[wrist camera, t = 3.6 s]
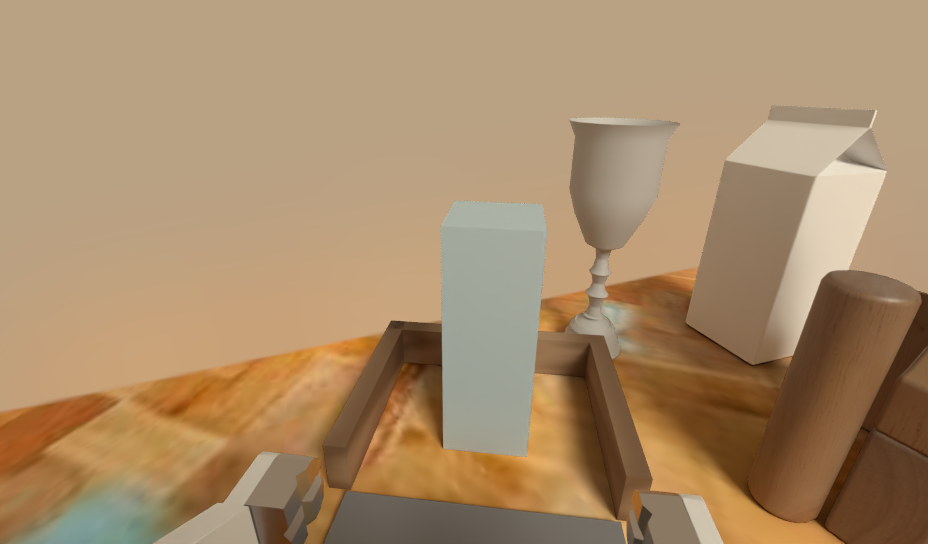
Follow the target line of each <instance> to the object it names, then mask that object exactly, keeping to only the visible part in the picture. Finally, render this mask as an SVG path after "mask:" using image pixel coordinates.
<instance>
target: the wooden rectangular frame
mask: <svg viewBox="0 0 928 544" xmlns="http://www.w3.org/2000/svg"><path fill="white" fill-rule="evenodd" d="M404 362H407V363H419V364H431V365H442V324H433V323H418V322H404V321H391V322H390V324H389V326H388V327H387V329H386V331H385V333H384V335H383V336H382V338H381V340H380V342H379V344H378V346H377V347H376V349H375V351H374V353H373V355H372V356H371V358H370V360H369V362H368V364H367V366H366V367H365V369H364V371H363V373H362V375H361V376H360V378H359V380H358V382H357V384H356V386H355V387H354V389H353V391H352V393H351V395H350V397H349V398H348V400H347V402H346V404H345V406H344V407H343V409H342V411H341V413H340V415H339V417H338V418H337V420H336V422H335V424H334V426H333V427H332V429H331V431H330V433H329V435H328V437H327V438H326V440H325V442H324V444H323V451H324V457H325V464H326V470H327V476H328V483H329V487H332V488H340V489H349V490H351V487H352V485H353V483H354V480H355V478H356V475H357V473H358V471H359V468H360V466H361V464H362V461H363V459H364V456H365V454H366V452H367V449H368V447H369V444H370V442H371V440H372V437H373V435H374V433H375V430H376V428H377V425H378V423H379V421H380V418H381V416H382V414H383V411H384V409H385V406H386V404H387V402H388V399H389V397H390V394H391V392H392V390H393V387H394V385H395V383H396V380H397V378H398V375H399V373H400V371H401V368H402V366H403V363H404ZM534 373H544V374H556V375H569V376H581V377H585V379H586V383H587V388H588V392H589V397H590V401H591V406H592V410H593V415H594V419H595V423H596V428H597V432H598V437H599V441H600V446H601V450H602V455H603V459H604V464H605V468H606V472H607V477H608V481H609V486H610V490H611V495H612V499H613V504H614V508H615V513H616V517H617V520H623V521H627V518H628V513H629V512H630V511H632V510H633V505H632V501H631V499H632V495H633V492H634V491H635V489H637V490H648V491H650V488H651V484H652V480H653V479H652V476H651V473H650V470H649V467H648V464H647V461H646V458H645V455H644V452H643V449H642V446H641V443H640V441H639V438H638V435H637V432H636V429H635V426H634V423H633V420H632V417H631V414H630V411H629V408H628V405H627V402H626V399H625V396H624V393H623V390H622V387H621V384H620V381H619V378H618V375H617V372H616V370H615V367H614V364H613V361H612V358H611V355H610V352H609V349H608V346H607V343H606V340H605V337H604V336H603V335H589V334H575V333H561V332H547V331H538V338H537V349H536V360H535V371H534Z"/></svg>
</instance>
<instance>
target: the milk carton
mask: <svg viewBox="0 0 928 544" xmlns="http://www.w3.org/2000/svg"><path fill="white" fill-rule="evenodd" d="M876 113H877V110H862V109H841V108H819V107H797V106H776V105H772V106H771V110H770V113H769V117H768V120H767V121H766V122H765V123H764V124H763V125H762V126H760V127H759V128H758V129H757V130H756V131H755V132H754V133H753V134H752V135H751V136H750V137H749V138H748V139H746V140H745V141H744V142H743V143H742V144H741V145H740V146H739V147H738V148H737V149H736V150H735V151H734V152H732V154H730V155H729V156H728V157H727V158H726V159H725V163H724V167H723V171H722V175H721V179H720V183H719V187H718V191H717V196H716V199H715V204H714V208H713V212H712V216H711V220H710V224H709V228H708V232H707V236H706V240H705V244H704V248H703V252H702V256H701V260H700V264H699V268H698V272H697V276H696V280H695V284H694V288H693V292H692V297H691V301H690V305H689V309H688V313H687V317H686V323H687V324H688V325H690V326H691V327H693V328H694V329H696V330H697V331H699V332H701V333H702V334H704V335H705V336H707V337H708V338H710V339H712V340H713V341H715V342H716V343H718V344H719V345H721V346H723V347H724V348H726V349H727V350H729V351H731V352H732V353H734V354H735V355H737V356H738V357H740V358H742V359H743V360H745V361H746V362H748V363H750V364H752V365H755V364H759V363H764V362H768V361H772V360H777V359H781V358H785V357H789V356H793V354H794V351H795V349H796V346H797V343H798V341H799V338H800V335H801V333H802V330H803V327H804V325H805V322H806V319H807V316H808V314H809V311H810V308H811V306H812V303H813V300H814V298H815V295H816V292H817V290H818V287H819V284H820V282H821V279H822V278H823V277H824V276H825V275H826V274H828V273H829V272H830V271H836V270H848V269H849V266H850V264H851V261H852V259H853V256H854V254H855V251H856V249H857V246H858V244H859V241H860V238H861V236H862V234H863V231H864V228H865V226H866V223H867V221H868V218H869V216H870V214H871V211H872V208H873V206H874V203H875V201H876V198H877V196H878V193H879V191H880V188H881V186H882V183H883V181H884V178H885V175H886V172H887V168H886V165H885V163H884V160H883V157H882V155H881V152H880V149H879V147H878V144H877V142H876V139H875V136H874V134H873V131H872V129H871V127H872V124H873V121H874V119H875V116H876Z"/></svg>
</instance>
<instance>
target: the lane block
mask: <svg viewBox="0 0 928 544" xmlns="http://www.w3.org/2000/svg"><path fill="white" fill-rule="evenodd" d="M546 238H547V228H546V222H545V217H544V212H543V207H542V204H521V203H495V202H471V201H455V202H454V204H453V205H452V207H451V209H450V211H449V213H448V214H447V216H446V218H445V220H444V221H443V224H442V225H441V292H442V294H441V295H442V385H443V449H451V450H461V451H471V452H481V453H491V454H501V455H511V456H521V457H527V448H528V437H529V426H530V415H531V404H532V393H533V382H534V371H535V360H536V349H537V338H538V327H539V316H540V305H541V293H542V283H543V271H544V261H545V250H546Z"/></svg>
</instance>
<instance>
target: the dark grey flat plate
mask: <svg viewBox="0 0 928 544" xmlns="http://www.w3.org/2000/svg"><path fill="white" fill-rule="evenodd" d="M324 544H626V543H625V538H624V534H623V530H622V525H621V522H615V521H606V520H598V519H589V518H580V517H571V516H562V515H554V514H545V513H536V512H527V511H518V510H510V509H501V508H492V507H483V506H474V505H466V504H457V503H448V502H439V501H430V500H422V499H413V498H404V497H395V496H386V495H378V494H369V493H360V492H351V491H346V493H345V495H344V497H343V500H342V502H341V504H340V507H339V509H338V511H337V514H336V516H335V518H334V521H333V523H332V525H331V528H330V530H329V532H328V535H327V537H326V539H325V542H324Z"/></svg>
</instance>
